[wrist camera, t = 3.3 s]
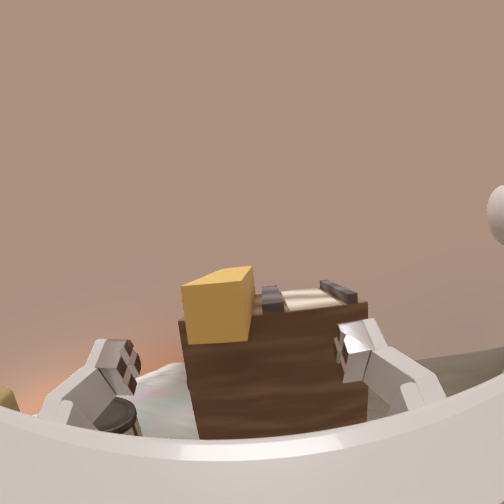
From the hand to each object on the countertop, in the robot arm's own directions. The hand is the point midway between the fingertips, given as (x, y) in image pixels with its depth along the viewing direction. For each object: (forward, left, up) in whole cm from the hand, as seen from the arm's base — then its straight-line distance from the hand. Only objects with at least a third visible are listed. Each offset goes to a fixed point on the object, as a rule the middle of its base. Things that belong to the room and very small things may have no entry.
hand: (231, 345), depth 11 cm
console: (+12, -20, -28) cm, 36 cm away
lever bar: (+13, -14, -2) cm, 19 cm away
